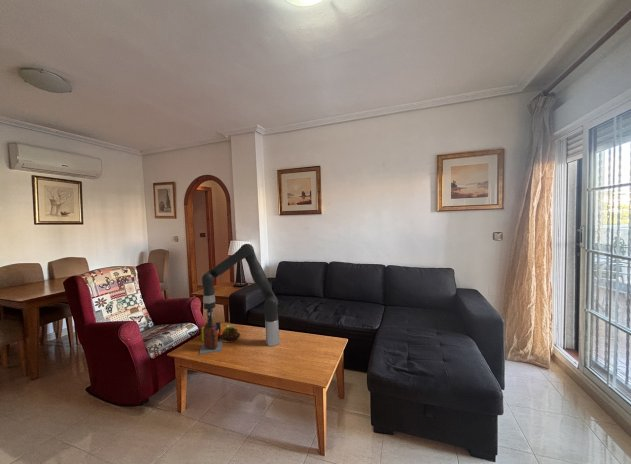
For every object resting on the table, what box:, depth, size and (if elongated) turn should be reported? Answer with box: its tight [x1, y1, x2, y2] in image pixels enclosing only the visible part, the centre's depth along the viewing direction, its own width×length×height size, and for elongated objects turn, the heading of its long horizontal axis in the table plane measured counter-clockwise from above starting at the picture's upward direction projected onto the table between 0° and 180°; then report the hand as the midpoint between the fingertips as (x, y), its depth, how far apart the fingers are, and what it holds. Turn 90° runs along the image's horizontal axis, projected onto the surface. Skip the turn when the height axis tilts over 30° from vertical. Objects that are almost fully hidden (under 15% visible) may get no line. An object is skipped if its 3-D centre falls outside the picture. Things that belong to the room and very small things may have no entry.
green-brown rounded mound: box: [217, 324, 241, 343], centre depth 192 cm, size 17×16×10 cm
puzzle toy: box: [201, 322, 222, 342], centre depth 192 cm, size 10×10×10 cm
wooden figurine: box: [203, 320, 219, 350], centre depth 176 cm, size 12×6×18 cm, turn 64°
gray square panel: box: [199, 341, 223, 356], centre depth 176 cm, size 14×13×1 cm
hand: (210, 324), depth 175 cm, fingers open, 8 cm apart
